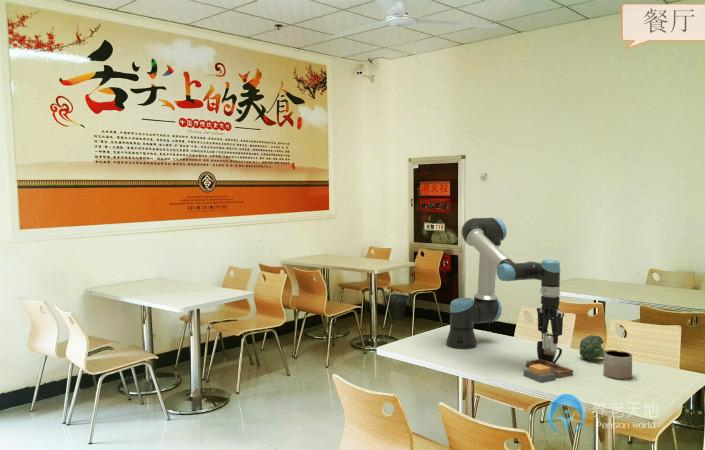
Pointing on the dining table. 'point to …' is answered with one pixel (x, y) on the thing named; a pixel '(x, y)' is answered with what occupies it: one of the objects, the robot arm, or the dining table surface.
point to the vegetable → (591, 347)
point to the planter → (617, 364)
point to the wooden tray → (552, 368)
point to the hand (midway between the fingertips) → (549, 349)
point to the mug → (543, 356)
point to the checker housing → (540, 376)
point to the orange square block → (539, 369)
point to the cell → (548, 345)
